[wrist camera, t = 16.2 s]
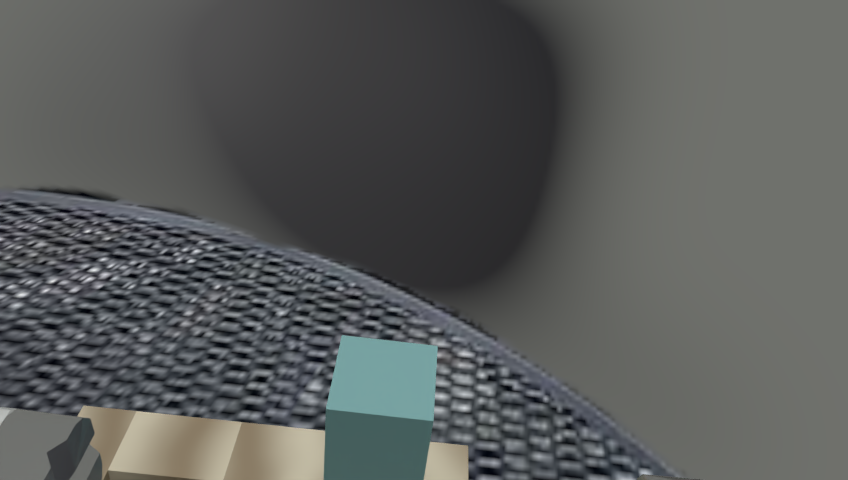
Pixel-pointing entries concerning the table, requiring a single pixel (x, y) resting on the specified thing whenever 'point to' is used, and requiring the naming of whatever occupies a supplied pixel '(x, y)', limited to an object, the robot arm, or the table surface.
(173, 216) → the table surface
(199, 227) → the table surface
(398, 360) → the peg
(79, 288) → the table surface
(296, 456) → the pocket board
